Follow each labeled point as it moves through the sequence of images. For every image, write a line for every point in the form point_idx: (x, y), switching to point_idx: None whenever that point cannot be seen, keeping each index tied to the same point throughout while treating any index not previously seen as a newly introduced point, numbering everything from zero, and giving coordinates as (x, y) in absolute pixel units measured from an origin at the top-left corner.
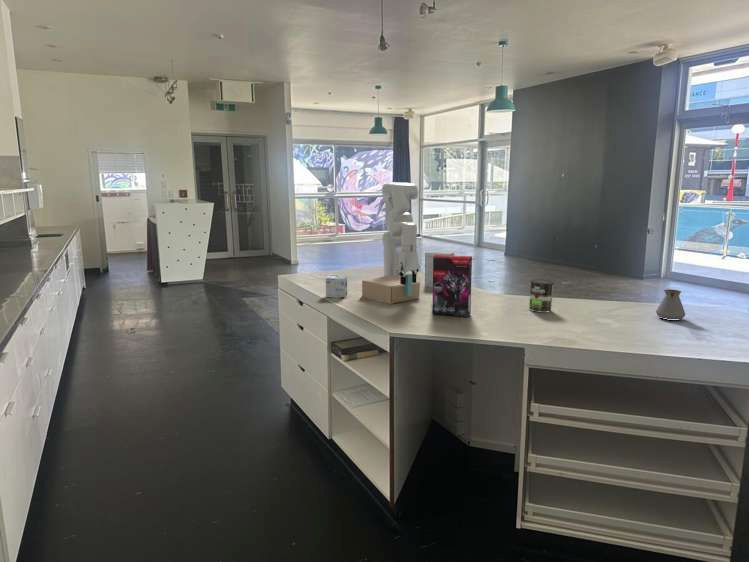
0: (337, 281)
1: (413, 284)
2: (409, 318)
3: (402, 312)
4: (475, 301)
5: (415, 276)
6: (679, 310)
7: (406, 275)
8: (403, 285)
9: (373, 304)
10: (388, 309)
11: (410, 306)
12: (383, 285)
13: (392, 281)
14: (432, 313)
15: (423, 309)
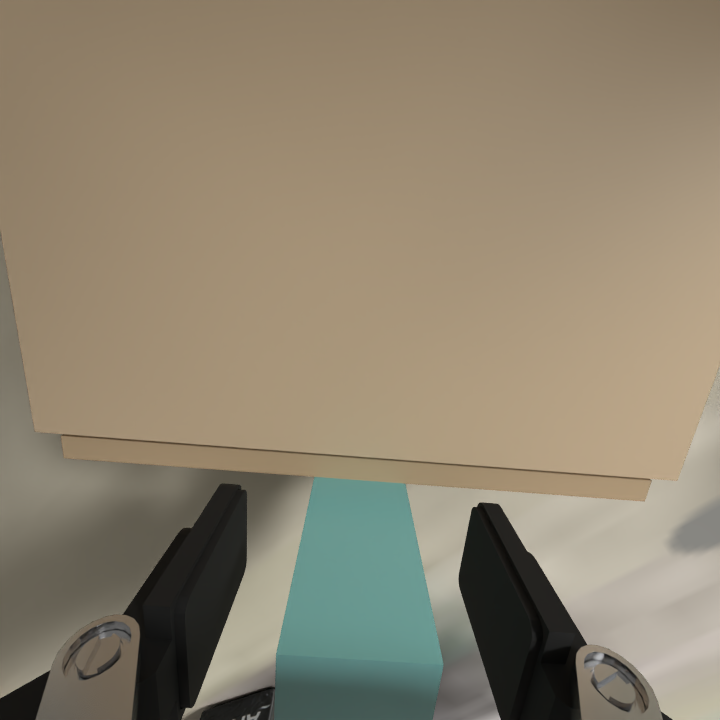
0: None
1: (504, 482)
2: (29, 674)
3: (84, 573)
4: (683, 703)
5: (503, 701)
6: None
7: (275, 694)
8: (292, 474)
9: None
10: (51, 459)
11: (254, 512)
12: (14, 248)
13: (371, 138)
14: (201, 715)
15: (258, 614)
